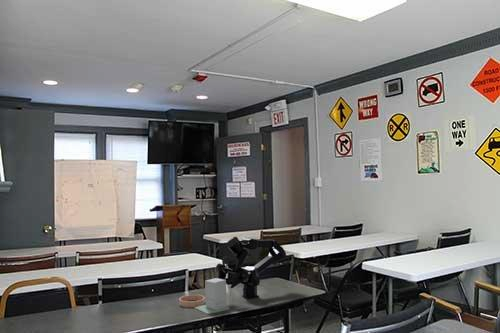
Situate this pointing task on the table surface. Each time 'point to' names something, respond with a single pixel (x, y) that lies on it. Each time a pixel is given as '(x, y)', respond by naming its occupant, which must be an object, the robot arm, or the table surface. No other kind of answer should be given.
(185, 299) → the terracotta ring
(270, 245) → the robot arm
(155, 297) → the table surface
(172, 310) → the table surface
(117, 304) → the table surface
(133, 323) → the table surface
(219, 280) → the supplement box
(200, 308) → the sage mat
